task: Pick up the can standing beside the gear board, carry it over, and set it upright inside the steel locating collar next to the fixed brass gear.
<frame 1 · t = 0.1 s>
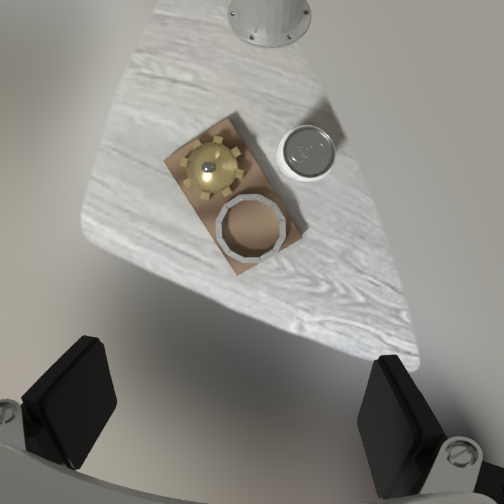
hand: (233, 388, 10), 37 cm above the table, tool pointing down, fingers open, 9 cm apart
gear board: (233, 196, 45), on the table
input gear: (214, 168, 44), resting on gear board
can: (298, 157, 43), on the table
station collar: (251, 226, 46), resting on gear board
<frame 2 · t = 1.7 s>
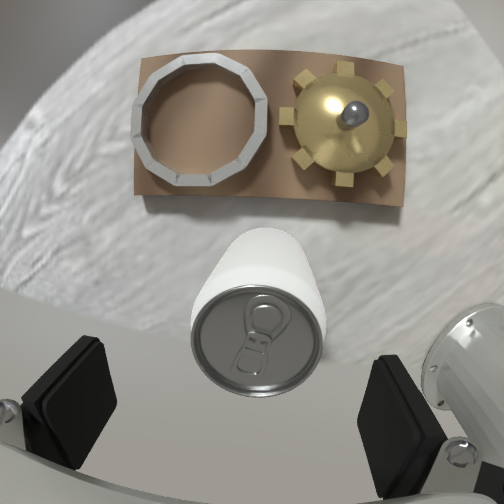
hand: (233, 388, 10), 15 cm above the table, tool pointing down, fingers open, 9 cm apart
gear board: (270, 123, 22), on the table
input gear: (337, 127, 21), resting on gear board
can: (265, 266, 25), on the table
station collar: (204, 122, 22), resting on gear board
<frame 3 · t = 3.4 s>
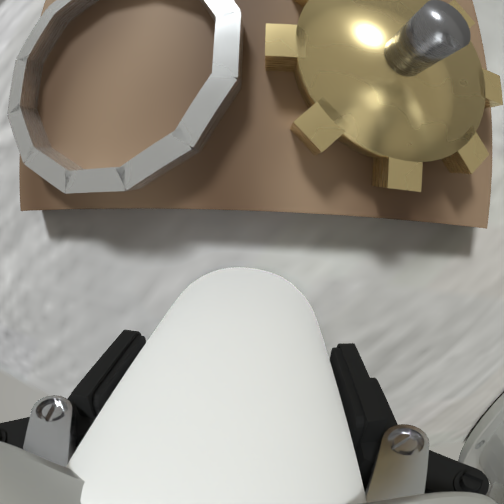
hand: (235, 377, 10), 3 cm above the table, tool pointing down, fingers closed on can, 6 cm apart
gear board: (250, 68, 11), on the table
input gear: (375, 80, 10), resting on gear board
can: (243, 332, 14), on the table, touching gripper
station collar: (131, 77, 11), resting on gear board
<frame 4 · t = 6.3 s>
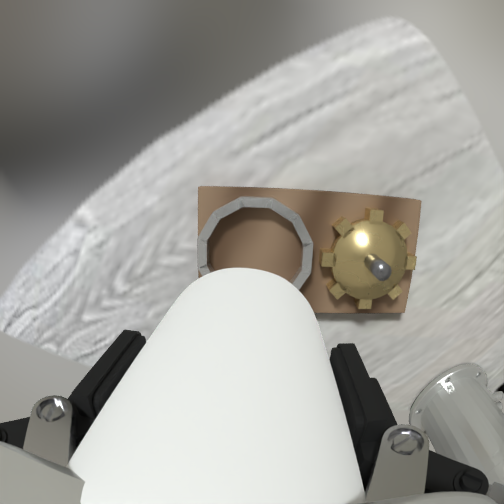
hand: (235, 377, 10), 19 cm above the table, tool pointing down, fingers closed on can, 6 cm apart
gear board: (310, 250, 28), on the table
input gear: (362, 252, 28), resting on gear board
can: (243, 332, 14), point 16 cm above the table, touching gripper
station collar: (255, 248, 29), resting on gear board
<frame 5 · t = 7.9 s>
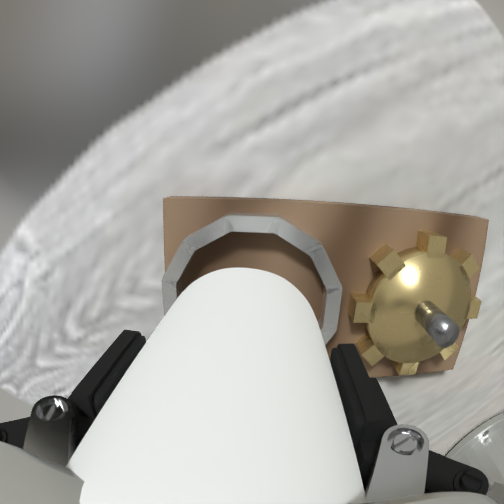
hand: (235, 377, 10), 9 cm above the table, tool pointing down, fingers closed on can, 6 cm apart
gear board: (334, 292, 19), on the table
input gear: (405, 293, 19), resting on gear board
can: (243, 332, 14), point 6 cm above the table, touching gripper
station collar: (253, 289, 19), resting on gear board
when the fingers open (6 cm above the table, at t = 9.2 s): can stays where it is, resting on gear board.
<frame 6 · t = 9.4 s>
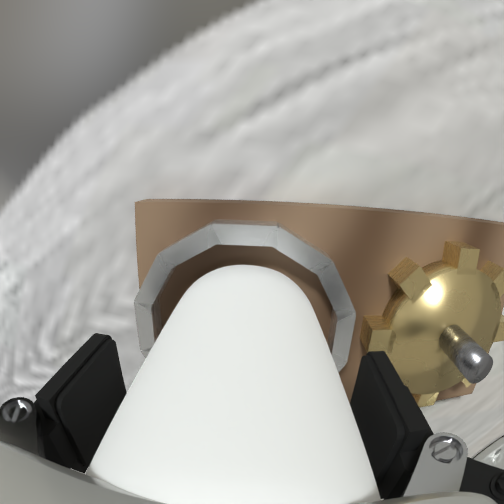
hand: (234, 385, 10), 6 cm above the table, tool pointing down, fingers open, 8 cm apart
gear board: (343, 313, 16), on the table
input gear: (425, 312, 15), resting on gear board
can: (245, 326, 14), point 1 cm above the table, touching gear board
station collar: (246, 310, 16), resting on gear board
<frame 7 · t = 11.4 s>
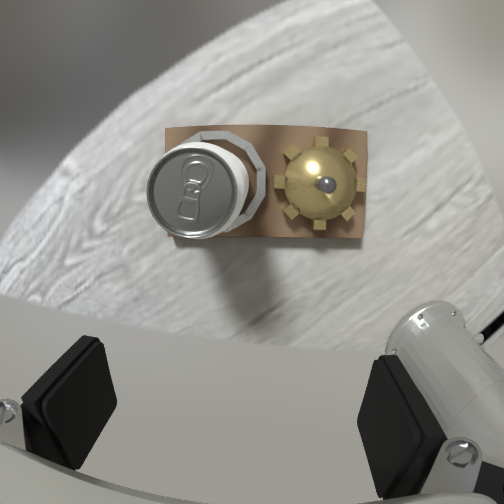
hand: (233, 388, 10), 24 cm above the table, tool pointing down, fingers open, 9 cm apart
gear board: (266, 180, 31), on the table
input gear: (315, 181, 31), resting on gear board
can: (216, 182, 30), point 1 cm above the table, touching gear board
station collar: (217, 180, 31), resting on gear board
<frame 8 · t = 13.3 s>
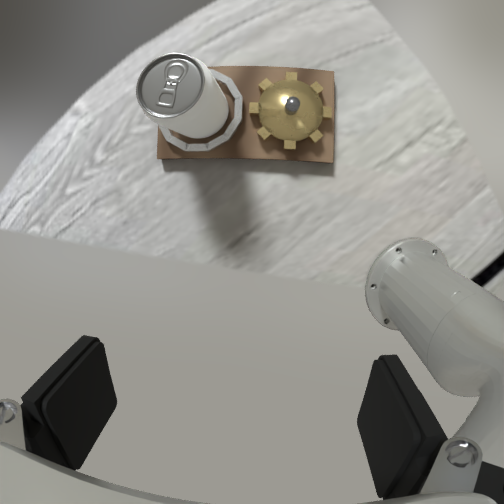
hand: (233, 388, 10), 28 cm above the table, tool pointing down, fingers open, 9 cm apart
gear board: (245, 112, 34), on the table
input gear: (289, 114, 33), resting on gear board
can: (201, 112, 33), point 1 cm above the table, touching gear board
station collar: (203, 113, 34), resting on gear board
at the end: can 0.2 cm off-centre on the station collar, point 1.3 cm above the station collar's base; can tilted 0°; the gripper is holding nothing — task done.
